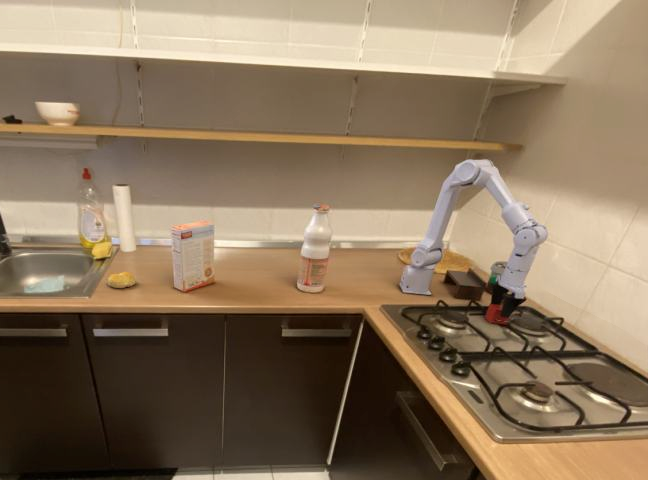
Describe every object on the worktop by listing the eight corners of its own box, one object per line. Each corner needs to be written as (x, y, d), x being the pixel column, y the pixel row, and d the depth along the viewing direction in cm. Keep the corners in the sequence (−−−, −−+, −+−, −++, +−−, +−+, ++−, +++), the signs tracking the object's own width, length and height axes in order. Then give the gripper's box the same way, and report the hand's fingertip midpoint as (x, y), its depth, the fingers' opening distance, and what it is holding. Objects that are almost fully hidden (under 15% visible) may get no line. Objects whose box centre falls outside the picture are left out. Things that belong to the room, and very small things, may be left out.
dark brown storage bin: (455, 298, 133) (461, 280, 130) (442, 282, 146) (448, 266, 143) (480, 300, 132) (487, 283, 128) (465, 284, 145) (471, 268, 142)
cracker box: (203, 278, 140) (203, 219, 130) (214, 283, 136) (215, 223, 126) (172, 287, 131) (169, 225, 121) (183, 292, 128) (181, 229, 117)
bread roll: (105, 282, 133) (103, 271, 131) (130, 278, 137) (129, 268, 135) (112, 290, 127) (110, 279, 125) (138, 286, 131) (137, 275, 129)
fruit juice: (291, 288, 135) (301, 205, 121) (304, 281, 141) (314, 202, 127) (316, 295, 130) (329, 209, 116) (327, 287, 137) (341, 205, 123)
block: (490, 323, 117) (495, 309, 114) (484, 316, 120) (490, 303, 118) (506, 324, 116) (512, 311, 114) (500, 318, 120) (505, 305, 118)
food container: (485, 284, 147) (495, 258, 142) (504, 288, 143) (514, 262, 138) (479, 292, 138) (489, 266, 133) (498, 297, 135) (509, 270, 130)
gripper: (545, 278, 103) (524, 323, 110) (521, 262, 115) (503, 303, 122) (516, 275, 104) (497, 320, 111) (495, 260, 116) (479, 301, 123)
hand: (499, 311), depth 117 cm, fingers open, 7 cm apart
